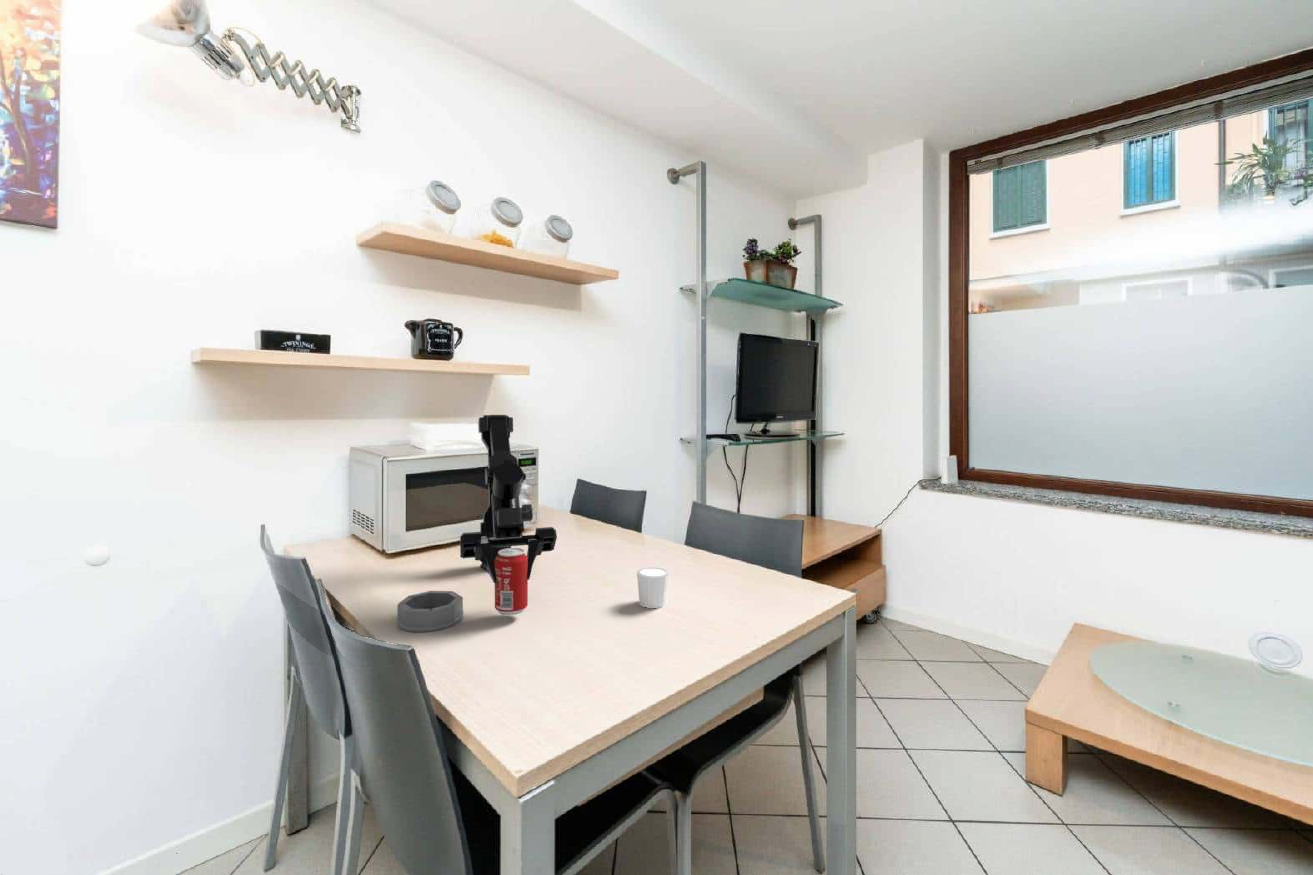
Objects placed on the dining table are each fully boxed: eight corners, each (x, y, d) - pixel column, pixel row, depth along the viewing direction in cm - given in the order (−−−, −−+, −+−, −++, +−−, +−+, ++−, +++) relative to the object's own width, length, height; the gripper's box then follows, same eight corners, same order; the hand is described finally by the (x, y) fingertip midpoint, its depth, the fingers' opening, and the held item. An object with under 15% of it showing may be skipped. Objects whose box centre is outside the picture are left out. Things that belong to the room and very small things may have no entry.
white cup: (635, 598, 122) (636, 567, 121) (666, 597, 122) (667, 566, 122) (637, 610, 115) (637, 577, 114) (670, 609, 115) (670, 576, 115)
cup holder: (447, 603, 117) (447, 585, 117) (474, 620, 108) (473, 601, 108) (387, 618, 109) (387, 599, 108) (411, 638, 100) (411, 617, 100)
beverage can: (533, 607, 112) (533, 548, 111) (516, 619, 106) (515, 557, 105) (507, 602, 114) (506, 545, 113) (488, 614, 108) (487, 553, 107)
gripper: (459, 492, 108) (461, 564, 99) (555, 488, 115) (565, 556, 105) (459, 523, 116) (461, 592, 107) (549, 517, 123) (557, 582, 113)
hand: (511, 580), depth 108 cm, fingers closed on beverage can, 6 cm apart
